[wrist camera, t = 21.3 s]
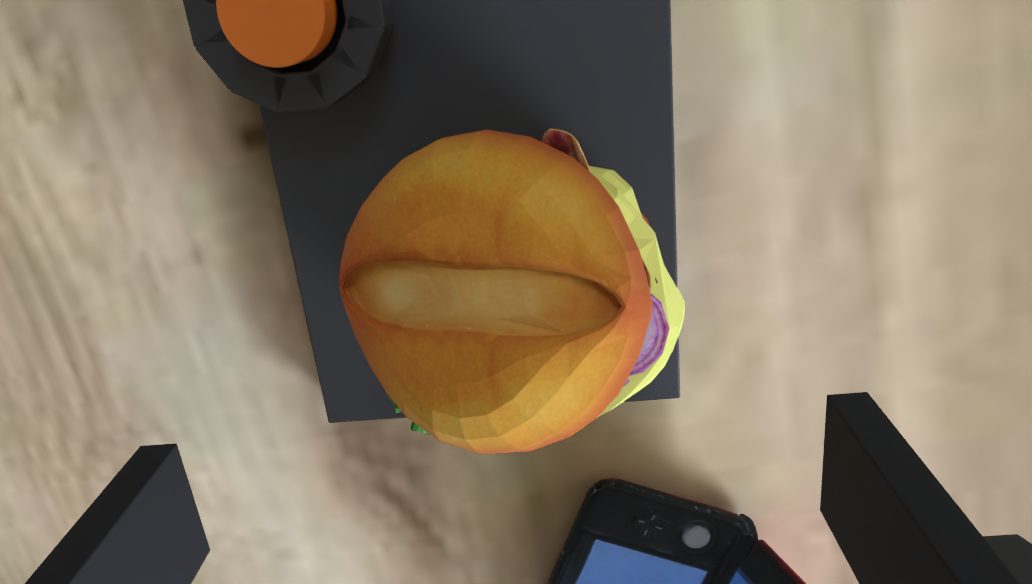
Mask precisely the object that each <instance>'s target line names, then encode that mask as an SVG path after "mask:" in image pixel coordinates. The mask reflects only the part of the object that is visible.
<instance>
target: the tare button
mask: <svg viewBox="0 0 1032 584" xmlns="http://www.w3.org/2000/svg"><path fill="white" fill-rule="evenodd" d="M216 7H217V15H218V19H219V22H220V25H221V28H222V30H223V32H224V34H225V36H226V38H227V39H228V40H229V42H230V43H231V45H232V46H233V47H234V48H235V49H236V50H237V51H238V52H239V53H240V54H241V55H243V56H244V57H246V58H247V59H249V60H250V61H252V62H254V63H257V64H259V65H262V66H266V67H273V68H283V67H288V66H292V65H295V64H298V63H301V62H304V61H308V60H310V59H312V58H314V57H316V56H317V55H319V54H320V53H321V52H322V51H323V50H324V49H325V48H326V47H327V46H328V44H329V43H330V41H331V39H332V37H333V35H334V32H335V29H336V25H337V4H336V0H216Z"/></svg>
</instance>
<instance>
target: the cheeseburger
mask: <svg viewBox="0 0 1032 584" xmlns="http://www.w3.org/2000/svg"><path fill="white" fill-rule="evenodd" d="M339 290H340V294H341V297H342V301H343V304H344V307H345V310H346V313H347V315H348V318H349V321H350V323H351V326H352V329H353V332H354V334H355V336H356V338H357V341H358V343H359V345H360V347H361V349H362V351H363V353H364V355H365V357H366V359H367V361H368V363H369V365H370V367H371V369H372V370H373V372H374V373H375V375H376V377H377V378H378V380H379V381H380V383H381V385H382V386H383V388H384V389H385V392H386V394H387V395H388V397H389V399H390V400H391V402H392V404H393V406H394V407H395V411H396V413H399V412H402V413H403V414H404V415H405V416H406V417H407V418H409V419H410V420H411V421H412V425H411V430H412V431H420V432H423V433H426V434H429V435H432V436H433V437H434V438H436V439H437V440H438V441H440V442H443V443H446V444H449V445H453V446H456V447H459V448H463V449H466V450H469V451H473V452H476V453H482V454H498V453H512V452H527V451H533V450H536V449H538V448H541V447H544V446H547V445H549V444H552V443H555V442H557V441H560V440H563V439H565V438H568V437H571V436H573V435H574V434H576V433H577V432H578V431H580V430H581V429H582V428H584V427H585V426H586V425H588V424H589V423H590V422H592V421H593V420H595V419H596V418H597V417H599V416H601V415H603V414H605V413H607V412H608V411H610V410H612V409H613V408H615V407H616V406H618V405H619V404H621V403H622V402H624V401H625V400H626V399H628V398H629V397H631V396H632V395H634V394H635V393H637V392H638V391H639V390H641V389H642V388H644V387H645V386H646V385H648V384H649V383H651V382H652V380H653V379H654V378H655V377H656V376H657V375H658V373H659V372H660V371H661V370H662V369H663V368H664V366H665V365H666V363H667V361H668V359H669V356H670V354H671V353H672V352H673V349H674V346H675V343H676V341H677V338H678V336H679V333H680V331H681V328H682V326H683V319H684V311H685V304H686V303H685V301H684V299H683V298H682V295H681V293H680V292H679V290H678V289H677V287H676V285H675V284H674V282H673V280H672V278H671V276H670V275H669V273H668V271H667V269H666V267H665V265H664V262H663V259H662V256H661V253H660V249H659V245H658V242H657V238H656V235H655V232H654V231H653V230H652V228H651V227H650V225H649V222H648V220H647V218H646V217H645V216H644V215H643V214H642V213H641V212H640V209H639V206H638V203H637V201H636V198H635V195H634V192H633V189H632V187H631V186H630V185H629V184H628V183H627V182H626V181H625V180H624V179H622V178H621V177H620V176H619V175H618V174H617V173H616V172H615V171H614V170H610V169H604V168H599V167H593V166H589V165H588V163H587V161H586V158H585V156H584V153H583V151H582V149H581V147H580V145H579V143H578V141H577V140H576V139H575V137H574V136H573V135H572V134H570V133H568V132H566V131H563V130H559V129H551V128H550V129H549V130H548V131H547V132H546V133H545V134H544V135H543V138H542V141H539V140H537V139H534V138H532V137H529V136H523V135H517V134H511V133H505V132H499V131H493V130H487V129H486V130H481V131H476V132H470V133H465V134H460V135H454V136H449V137H444V138H441V139H439V140H436V141H435V142H433V143H431V144H429V145H428V146H426V147H424V148H422V149H420V150H418V151H416V152H414V153H413V154H411V155H409V156H407V157H405V158H404V159H403V160H401V161H400V162H399V163H398V164H397V165H396V166H395V167H394V168H393V169H392V170H391V171H390V172H389V173H388V174H387V175H386V176H384V178H383V179H382V180H381V181H380V182H379V184H378V185H377V186H376V187H375V189H374V190H373V191H372V193H371V194H370V195H369V197H368V198H367V199H366V201H365V202H364V203H363V204H362V206H361V208H360V210H359V212H358V214H357V216H356V218H355V220H354V222H353V224H352V226H351V228H350V231H349V233H348V235H347V237H346V241H345V246H344V251H343V255H342V260H341V266H340V273H339Z"/></svg>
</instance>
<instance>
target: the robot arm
mask: <svg viewBox="0 0 1032 584" xmlns="http://www.w3.org/2000/svg"><path fill="white" fill-rule="evenodd" d="M820 511H821V512H822V514H823V516H824V518H825V520H826V522H827V524H828V526H829V527H830V529H831V531H832V533H833V535H834V537H835V539H836V541H837V542H838V544H839V546H840V548H841V550H842V552H843V554H844V556H845V557H846V559H847V561H848V563H849V565H850V567H851V569H852V571H853V572H854V574H855V576H856V578H857V580H858V582H859V584H1032V544H1031V543H1030V542H1028V541H1026V540H1025V539H1023V538H1022V537H1020V536H1019V535H1017V534H1015V535H999V536H983V537H982V535H981V534H980V533H979V532H978V530H977V529H976V528H975V527H974V525H973V524H972V523H971V522H970V520H969V519H968V518H967V516H966V515H965V514H964V513H963V511H962V510H961V509H960V508H959V506H958V505H957V504H956V503H955V501H954V500H953V499H952V498H951V496H950V495H949V494H948V493H947V491H946V490H945V489H944V488H943V486H942V485H941V484H940V483H939V481H938V480H937V479H936V478H935V476H934V475H933V474H932V473H931V471H930V470H929V469H928V468H927V466H926V465H925V464H924V463H923V461H922V460H921V459H920V458H919V456H918V455H917V454H916V453H915V451H914V450H913V449H912V448H911V446H910V445H909V444H908V443H907V441H906V440H905V439H904V438H903V436H902V435H901V434H900V433H899V431H898V430H897V429H896V428H895V426H894V425H893V424H892V423H891V421H890V420H889V419H888V418H887V416H886V415H885V414H884V413H883V411H882V410H881V409H880V408H879V406H878V405H877V404H876V403H875V401H874V400H873V399H872V398H871V396H870V395H869V394H868V393H867V392H862V393H849V394H835V395H827V405H826V422H825V439H824V455H823V472H822V489H821V506H820ZM209 551H210V548H209V545H208V542H207V539H206V535H205V532H204V529H203V526H202V523H201V520H200V516H199V513H198V510H197V507H196V504H195V501H194V497H193V494H192V491H191V488H190V485H189V481H188V478H187V475H186V472H185V469H184V466H183V462H182V459H181V456H180V453H179V450H178V447H177V444H163V445H150V446H140V447H139V449H138V450H137V451H136V452H135V453H134V455H133V456H132V457H131V458H130V459H129V461H128V462H127V463H126V464H125V465H124V466H123V468H122V469H121V470H120V471H119V472H118V474H117V475H116V476H115V477H114V478H113V480H112V481H111V482H110V483H109V484H108V485H107V487H106V488H105V489H104V490H103V491H102V493H101V494H100V495H99V496H98V497H97V498H96V500H95V501H94V502H93V503H92V504H91V506H90V507H89V508H88V509H87V510H86V512H85V513H84V514H83V515H82V516H81V517H80V519H79V520H78V521H77V522H76V523H75V525H74V526H73V527H72V528H71V529H70V530H69V532H68V533H67V534H66V535H65V536H64V538H63V539H62V540H61V541H60V542H59V544H58V545H57V546H56V547H55V548H54V549H53V551H52V552H51V553H50V554H49V555H48V557H47V558H46V559H45V560H44V561H43V563H42V564H41V565H40V566H39V567H38V568H37V570H36V571H35V572H34V573H33V574H32V576H31V577H30V578H29V579H28V580H27V581H26V583H25V584H191V583H192V581H193V579H194V578H195V576H196V574H197V572H198V571H199V569H200V567H201V565H202V563H203V562H204V560H205V558H206V556H207V555H208V553H209Z"/></svg>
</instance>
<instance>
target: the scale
mask: <svg viewBox="0 0 1032 584" xmlns="http://www.w3.org/2000/svg"><path fill="white" fill-rule="evenodd" d="M183 3H184V7H185V11H186V15H187V19H188V23H189V27H190V32H191V36H192V40H193V44H194V46H195V47H196V50H197V51H198V52H199V54H200V55H201V56H202V57H203V59H204V60H205V61H206V62H207V63H208V65H209V66H210V67H211V68H212V69H213V71H214V72H215V73H216V74H217V75H218V77H219V78H220V79H221V80H222V82H223V83H224V84H225V85H226V86H227V88H228V89H230V90H231V92H233V93H235V94H237V95H239V96H242V97H244V98H246V99H248V100H251V101H253V102H255V103H258V104H259V106H260V110H261V115H262V120H263V124H264V129H265V133H266V138H267V142H268V147H269V152H270V156H271V161H272V165H273V170H274V174H275V179H276V184H277V188H278V193H279V197H280V202H281V206H282V211H283V216H284V220H285V225H286V229H287V234H288V238H289V243H290V248H291V252H292V257H293V261H294V266H295V270H296V275H297V279H298V284H299V289H300V293H301V298H302V302H303V307H304V311H305V316H306V321H307V325H308V330H309V334H310V339H311V343H312V348H313V353H314V357H315V362H316V366H317V371H318V375H319V380H320V385H321V389H322V394H323V398H324V403H325V407H326V412H327V417H328V421H329V423H334V422H348V421H363V420H377V419H391V418H405V417H406V416H405V415H404V414H403V413H402V412H399V413H396V411H395V407H394V406H393V404H392V402H391V400H390V399H389V397H388V395H387V394H386V392H385V389H384V388H383V386H382V385H381V383H380V381H379V380H378V378H377V377H376V375H375V373H374V372H373V370H372V369H371V367H370V365H369V363H368V361H367V359H366V357H365V355H364V353H363V351H362V349H361V347H360V345H359V343H358V341H357V338H356V336H355V334H354V332H353V329H352V326H351V323H350V321H349V318H348V315H347V313H346V310H345V307H344V304H343V301H342V297H341V294H340V290H339V273H340V266H341V260H342V255H343V251H344V246H345V241H346V237H347V235H348V233H349V231H350V228H351V226H352V224H353V222H354V220H355V218H356V216H357V214H358V212H359V210H360V208H361V206H362V204H363V203H364V202H365V201H366V199H367V198H368V197H369V195H370V194H371V193H372V191H373V190H374V189H375V187H376V186H377V185H378V184H379V182H380V181H381V180H382V179H383V178H384V176H386V175H387V174H388V173H389V172H390V171H391V170H392V169H393V168H394V167H395V166H396V165H397V164H398V163H399V162H400V161H401V160H403V159H404V158H405V157H407V156H409V155H411V154H413V153H414V152H416V151H418V150H420V149H422V148H424V147H426V146H428V145H429V144H431V143H433V142H435V141H436V140H439V139H441V138H444V137H449V136H454V135H460V134H465V133H470V132H476V131H481V130H486V129H487V130H493V131H499V132H505V133H511V134H517V135H523V136H529V137H532V138H534V139H537V140H539V141H542V138H543V135H544V134H545V133H546V132H547V131H548V130H549V129H550V128H551V129H559V130H563V131H566V132H568V133H570V134H572V135H573V136H574V137H575V139H576V140H577V141H578V143H579V145H580V147H581V149H582V151H583V153H584V156H585V158H586V161H587V163H588V165H589V166H593V167H599V168H604V169H610V170H614V171H615V172H616V173H617V174H618V175H619V176H620V177H621V178H622V179H624V180H625V181H626V182H627V183H628V184H629V185H630V186H631V187H632V189H633V192H634V195H635V198H636V201H637V203H638V206H639V209H640V212H641V213H642V214H643V215H644V216H645V217H646V218H647V220H648V222H649V225H650V227H651V228H652V230H653V231H654V232H655V235H656V238H657V242H658V245H659V249H660V253H661V256H662V259H663V262H664V265H665V267H666V269H667V271H668V273H669V275H670V276H671V278H672V280H673V282H674V284H675V285H676V287H677V251H676V210H675V169H674V129H673V88H672V47H671V7H670V0H336V4H337V25H336V29H335V32H334V35H333V37H332V39H331V41H330V43H329V44H328V46H327V47H326V48H325V49H324V50H323V51H322V52H321V53H320V54H319V55H317V56H316V57H314V58H312V59H310V60H308V61H304V62H301V63H298V64H295V65H292V66H288V67H283V68H273V67H266V66H262V65H259V64H257V63H254V62H252V61H250V60H249V59H247V58H246V57H244V56H243V55H241V54H240V53H239V52H238V51H237V50H236V49H235V48H234V47H233V46H232V45H231V43H230V42H229V40H228V39H227V38H226V36H225V34H224V32H223V30H222V28H221V25H220V22H219V19H218V15H217V7H216V0H183ZM679 397H680V373H679V336H678V338H677V341H676V343H675V346H674V349H673V352H672V353H671V354H670V356H669V359H668V361H667V363H666V365H665V366H664V368H663V369H662V370H661V371H660V372H659V373H658V375H657V376H656V377H655V378H654V379H653V380H652V382H651V383H649V384H648V385H646V386H645V387H644V388H642V389H641V390H639V391H638V392H637V393H635V394H634V395H632V396H631V397H629V398H628V399H626V400H625V401H624V402H630V401H644V400H658V399H672V398H679Z"/></svg>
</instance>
